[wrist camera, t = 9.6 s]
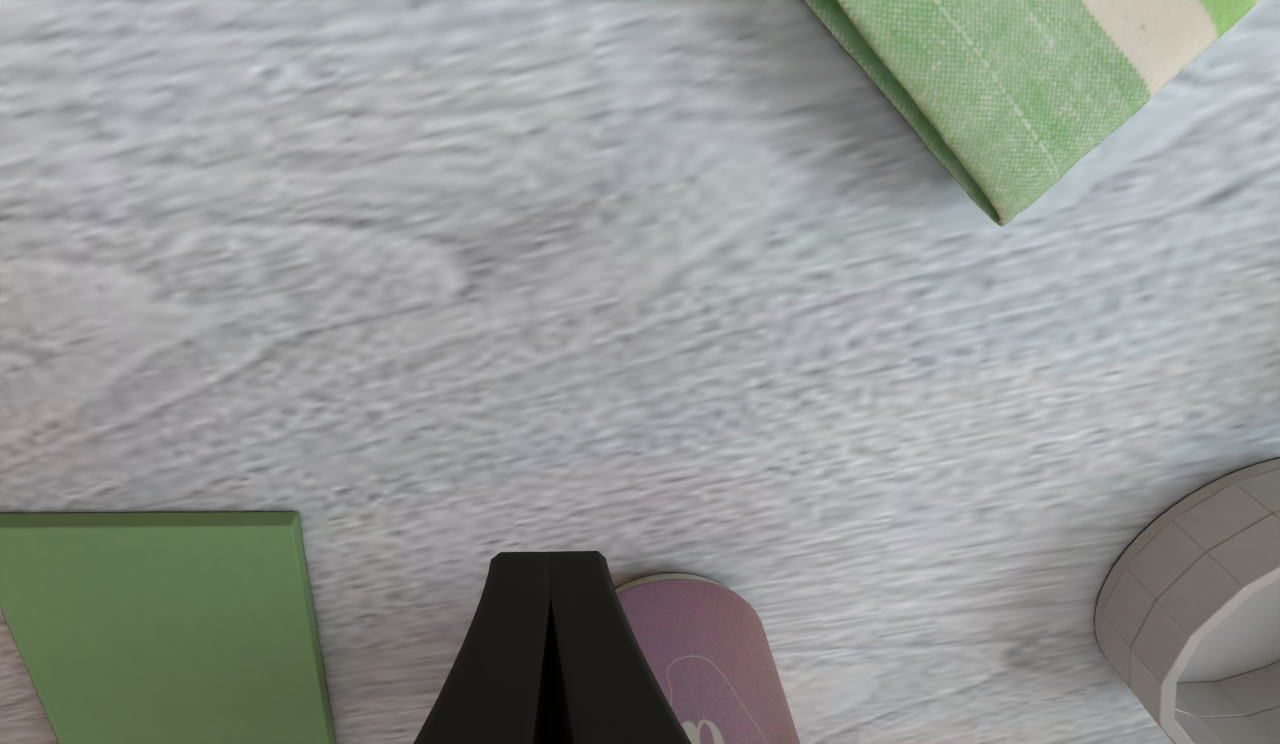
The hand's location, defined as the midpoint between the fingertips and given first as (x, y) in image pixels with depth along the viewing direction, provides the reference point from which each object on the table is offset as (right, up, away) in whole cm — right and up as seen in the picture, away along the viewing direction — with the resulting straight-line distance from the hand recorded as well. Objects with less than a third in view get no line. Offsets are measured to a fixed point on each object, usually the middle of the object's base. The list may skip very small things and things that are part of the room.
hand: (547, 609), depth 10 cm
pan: (+21, -4, +16) cm, 26 cm away
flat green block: (-12, -5, +12) cm, 18 cm away
